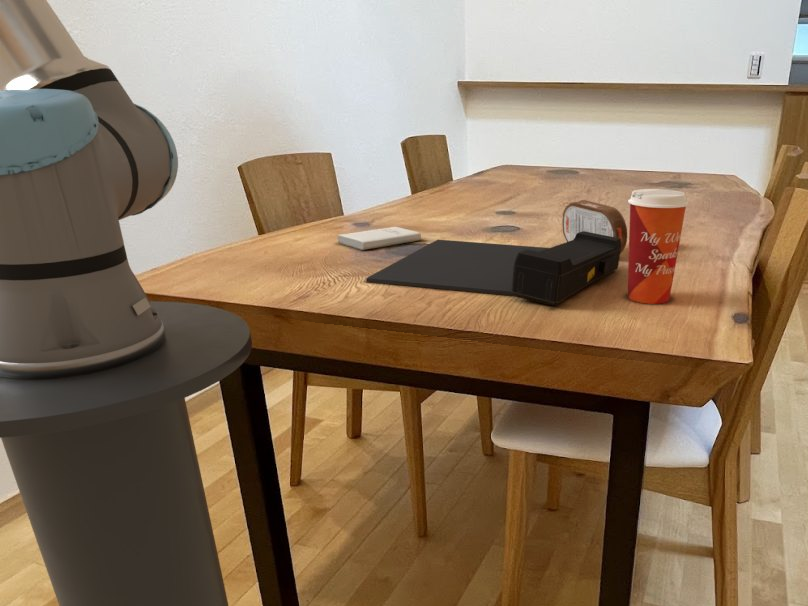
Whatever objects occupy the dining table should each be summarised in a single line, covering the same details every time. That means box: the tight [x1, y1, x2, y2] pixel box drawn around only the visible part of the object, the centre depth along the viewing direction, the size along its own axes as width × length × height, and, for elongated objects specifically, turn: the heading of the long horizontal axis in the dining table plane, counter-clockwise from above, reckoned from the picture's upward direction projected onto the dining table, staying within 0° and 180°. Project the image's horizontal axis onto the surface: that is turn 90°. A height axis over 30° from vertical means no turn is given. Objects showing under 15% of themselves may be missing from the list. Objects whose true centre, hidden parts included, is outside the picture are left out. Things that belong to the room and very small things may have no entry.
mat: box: [365, 239, 549, 297], centre depth 105 cm, size 24×28×1 cm
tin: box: [561, 199, 628, 255], centre depth 113 cm, size 15×3×8 cm, turn 32°
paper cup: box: [627, 188, 690, 305], centre depth 87 cm, size 8×8×14 cm
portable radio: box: [512, 231, 622, 307], centre depth 95 cm, size 8×6×25 cm
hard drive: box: [337, 226, 422, 251], centre depth 120 cm, size 2×8×12 cm
